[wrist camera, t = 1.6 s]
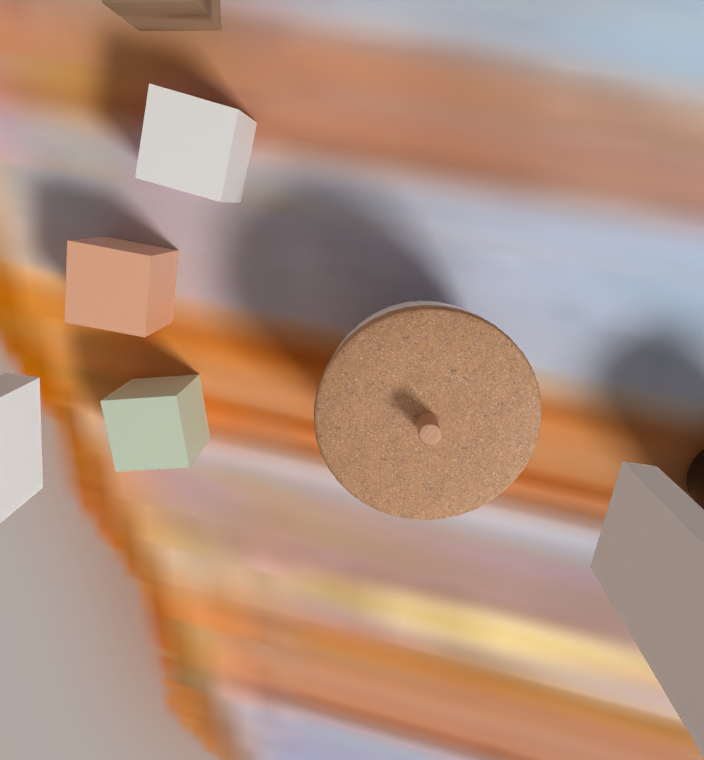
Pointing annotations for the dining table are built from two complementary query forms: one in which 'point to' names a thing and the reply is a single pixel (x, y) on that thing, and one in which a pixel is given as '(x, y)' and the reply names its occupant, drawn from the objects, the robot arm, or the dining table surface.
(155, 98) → the grey block
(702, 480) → the mug
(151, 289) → the terracotta block
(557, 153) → the dining table surface
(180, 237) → the dining table surface
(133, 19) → the walnut block
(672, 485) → the robot arm
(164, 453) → the sage block
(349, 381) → the lidded bowl
